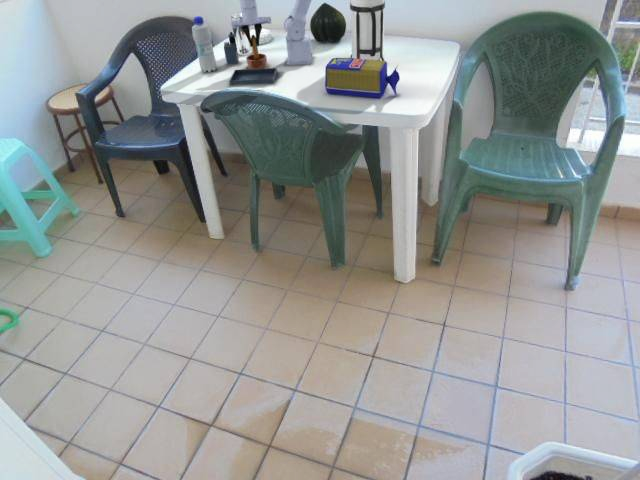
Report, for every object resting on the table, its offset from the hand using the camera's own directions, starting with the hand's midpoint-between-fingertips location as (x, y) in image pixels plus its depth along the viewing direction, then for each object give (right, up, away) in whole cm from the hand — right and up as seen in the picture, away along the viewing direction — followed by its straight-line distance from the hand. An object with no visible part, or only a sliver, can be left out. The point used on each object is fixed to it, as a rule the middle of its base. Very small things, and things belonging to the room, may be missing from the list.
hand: (254, 45), depth 183 cm
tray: (0, -14, -3) cm, 14 cm away
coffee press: (+43, -5, +3) cm, 44 cm away
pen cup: (0, -6, +6) cm, 8 cm away
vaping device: (-10, -1, +9) cm, 13 cm away
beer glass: (-6, +4, +19) cm, 21 cm away
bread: (+39, -23, -18) cm, 49 cm away
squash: (+28, +12, +25) cm, 39 cm away
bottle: (-18, -7, +7) cm, 21 cm away
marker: (0, -4, +3) cm, 5 cm away
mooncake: (-3, +14, +30) cm, 34 cm away
